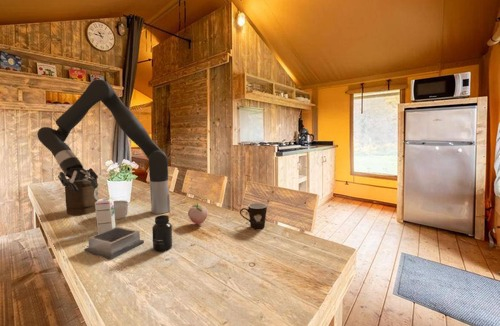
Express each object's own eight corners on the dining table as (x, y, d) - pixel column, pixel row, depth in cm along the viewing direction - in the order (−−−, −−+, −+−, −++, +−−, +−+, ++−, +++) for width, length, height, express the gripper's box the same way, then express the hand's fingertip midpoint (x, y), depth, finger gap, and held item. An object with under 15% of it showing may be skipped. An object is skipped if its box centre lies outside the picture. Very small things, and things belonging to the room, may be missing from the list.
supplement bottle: (154, 254, 87) (152, 221, 86) (152, 246, 93) (150, 215, 92) (174, 249, 90) (172, 218, 89) (170, 242, 96) (169, 213, 95)
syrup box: (113, 234, 105) (110, 200, 103) (97, 235, 103) (94, 201, 101) (116, 229, 110) (114, 197, 108) (101, 230, 108) (98, 198, 107)
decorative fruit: (211, 224, 116) (211, 203, 114) (197, 229, 110) (196, 207, 108) (199, 219, 122) (199, 200, 121) (185, 224, 116) (184, 203, 115)
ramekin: (93, 219, 123) (92, 205, 122) (116, 211, 135) (115, 199, 134) (112, 223, 118) (111, 208, 117) (134, 214, 130) (134, 201, 129)
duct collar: (119, 236, 102) (118, 225, 101) (144, 242, 96) (143, 230, 95) (84, 251, 89) (83, 238, 88) (111, 259, 83) (110, 245, 83)
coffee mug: (269, 225, 115) (269, 204, 114) (262, 231, 107) (262, 209, 106) (247, 221, 120) (247, 201, 119) (239, 227, 112) (238, 206, 111)
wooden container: (104, 209, 137) (101, 170, 135) (74, 217, 125) (70, 174, 122) (91, 205, 145) (88, 168, 143) (61, 212, 133) (57, 172, 130)
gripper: (54, 158, 104) (73, 187, 101) (87, 155, 117) (105, 181, 114) (48, 169, 107) (66, 198, 104) (81, 165, 120) (99, 191, 117)
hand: (87, 189), depth 109 cm, fingers open, 8 cm apart
